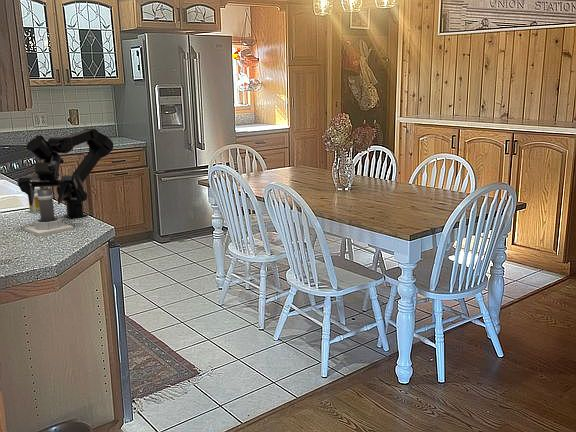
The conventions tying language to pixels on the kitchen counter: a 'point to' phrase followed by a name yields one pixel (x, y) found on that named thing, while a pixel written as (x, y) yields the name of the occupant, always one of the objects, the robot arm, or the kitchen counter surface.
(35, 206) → the supplement bottle
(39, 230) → the collar mount
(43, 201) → the dark grey capped cylinder
